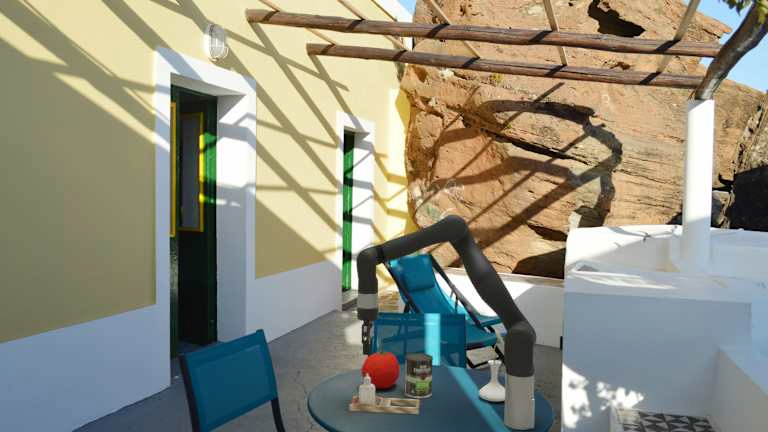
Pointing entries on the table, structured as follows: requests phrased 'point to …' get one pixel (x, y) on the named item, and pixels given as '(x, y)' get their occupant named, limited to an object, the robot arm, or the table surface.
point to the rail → (386, 405)
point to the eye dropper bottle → (367, 391)
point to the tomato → (381, 369)
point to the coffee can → (418, 375)
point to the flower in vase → (494, 379)
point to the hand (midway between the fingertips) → (367, 351)
